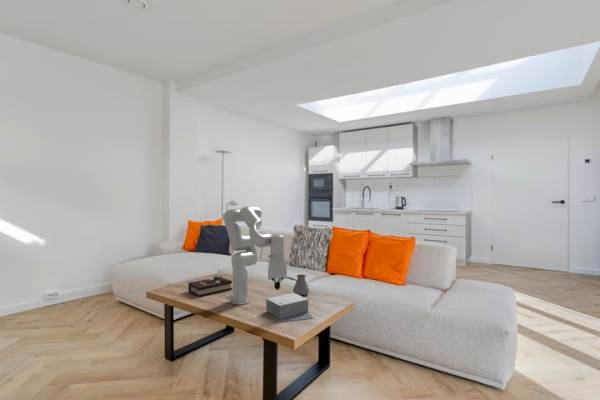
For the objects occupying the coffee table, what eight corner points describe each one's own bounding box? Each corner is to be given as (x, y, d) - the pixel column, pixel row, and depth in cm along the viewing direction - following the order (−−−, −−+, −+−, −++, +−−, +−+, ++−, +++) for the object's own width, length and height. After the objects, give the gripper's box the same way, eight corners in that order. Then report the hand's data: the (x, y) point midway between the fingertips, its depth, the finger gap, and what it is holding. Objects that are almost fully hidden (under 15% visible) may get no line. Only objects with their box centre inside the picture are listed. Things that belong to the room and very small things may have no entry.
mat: (277, 322, 167) (277, 321, 167) (271, 310, 184) (271, 310, 184) (313, 318, 172) (313, 317, 172) (304, 307, 190) (304, 306, 189)
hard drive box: (279, 319, 170) (308, 311, 181) (279, 305, 170) (308, 298, 181) (265, 311, 183) (293, 304, 194) (265, 298, 183) (293, 292, 194)
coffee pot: (299, 290, 224) (300, 269, 224) (312, 293, 217) (312, 272, 217) (279, 298, 207) (279, 275, 207) (292, 301, 200) (292, 278, 200)
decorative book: (184, 281, 220) (222, 274, 240) (184, 292, 220) (222, 284, 240) (196, 287, 206) (235, 279, 226) (196, 299, 206) (235, 290, 226)
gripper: (265, 258, 170) (265, 292, 170) (291, 257, 174) (291, 290, 174) (263, 256, 177) (263, 288, 177) (288, 255, 181) (288, 286, 181)
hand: (277, 289), depth 176 cm, fingers closed
